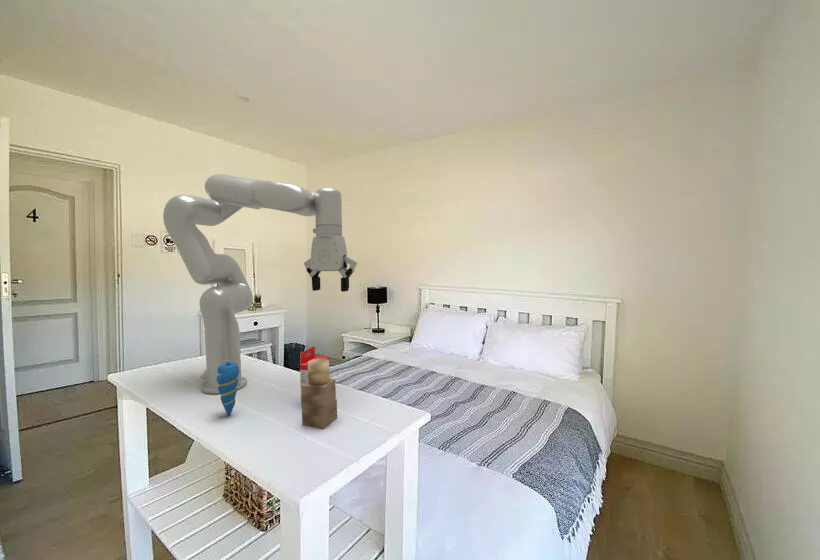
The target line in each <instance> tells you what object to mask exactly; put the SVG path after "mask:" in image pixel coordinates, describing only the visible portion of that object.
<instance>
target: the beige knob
mask: <svg viewBox="0 0 820 560" xmlns="http://www.w3.org/2000/svg"><path fill="white" fill-rule="evenodd" d="M330 378H331V377H330V359H329V360H327V359H314V360H311V361H309V362H308V383H309V384H310V385H314V386H319V385H324V384H327V383H329V381H330Z"/></svg>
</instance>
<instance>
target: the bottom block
mask: <svg viewBox="0 0 820 560" xmlns="http://www.w3.org/2000/svg"><path fill="white" fill-rule="evenodd" d="M337 399H338V398H335V399H334V400H333V401H332V402H331V403H330V404H329V405H328V406H327V407H326V408H318V407H307V406H301V425H302V426H304V427H305V426H306V427H308V428H309V427H310V428H314V429H321V430H325V429H326V428H327V427H328V426H329V425H331V424H332V423H333V422H335V420H337V419H338V400H337Z"/></svg>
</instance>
